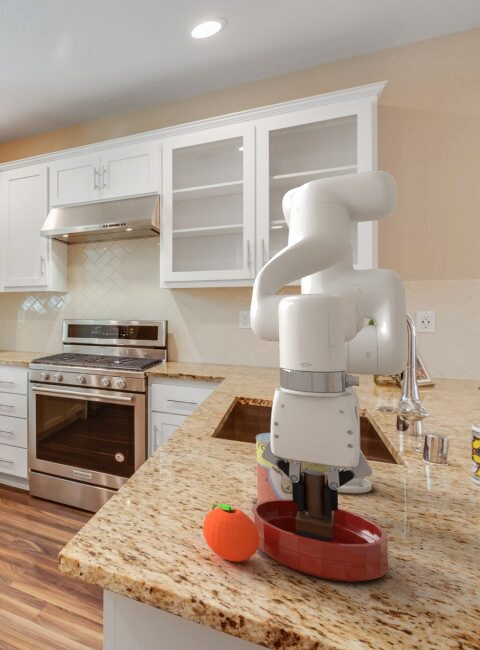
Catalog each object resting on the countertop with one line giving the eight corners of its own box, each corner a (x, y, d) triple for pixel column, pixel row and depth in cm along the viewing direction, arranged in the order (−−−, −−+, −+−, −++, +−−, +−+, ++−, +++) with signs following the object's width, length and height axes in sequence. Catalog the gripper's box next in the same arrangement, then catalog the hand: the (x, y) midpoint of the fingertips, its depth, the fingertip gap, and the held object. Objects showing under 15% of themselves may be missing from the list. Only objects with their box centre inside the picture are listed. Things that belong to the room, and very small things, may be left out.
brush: (300, 524, 71) (299, 464, 71) (334, 532, 68) (333, 469, 68) (296, 540, 66) (294, 475, 66) (332, 548, 63) (330, 481, 63)
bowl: (261, 522, 77) (261, 491, 77) (385, 551, 68) (385, 516, 68) (243, 560, 66) (242, 523, 66) (390, 601, 56) (389, 558, 56)
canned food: (253, 512, 81) (251, 442, 81) (260, 492, 90) (259, 429, 90) (336, 530, 74) (334, 453, 74) (335, 506, 83) (334, 438, 83)
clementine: (189, 544, 70) (188, 496, 71) (234, 541, 71) (233, 494, 71) (222, 573, 62) (221, 518, 63) (272, 570, 63) (271, 516, 63)
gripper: (386, 382, 65) (390, 517, 65) (251, 374, 75) (254, 490, 75) (389, 391, 59) (392, 538, 59) (242, 380, 69) (245, 506, 69)
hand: (315, 510), depth 67 cm, fingers closed on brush, 2 cm apart
